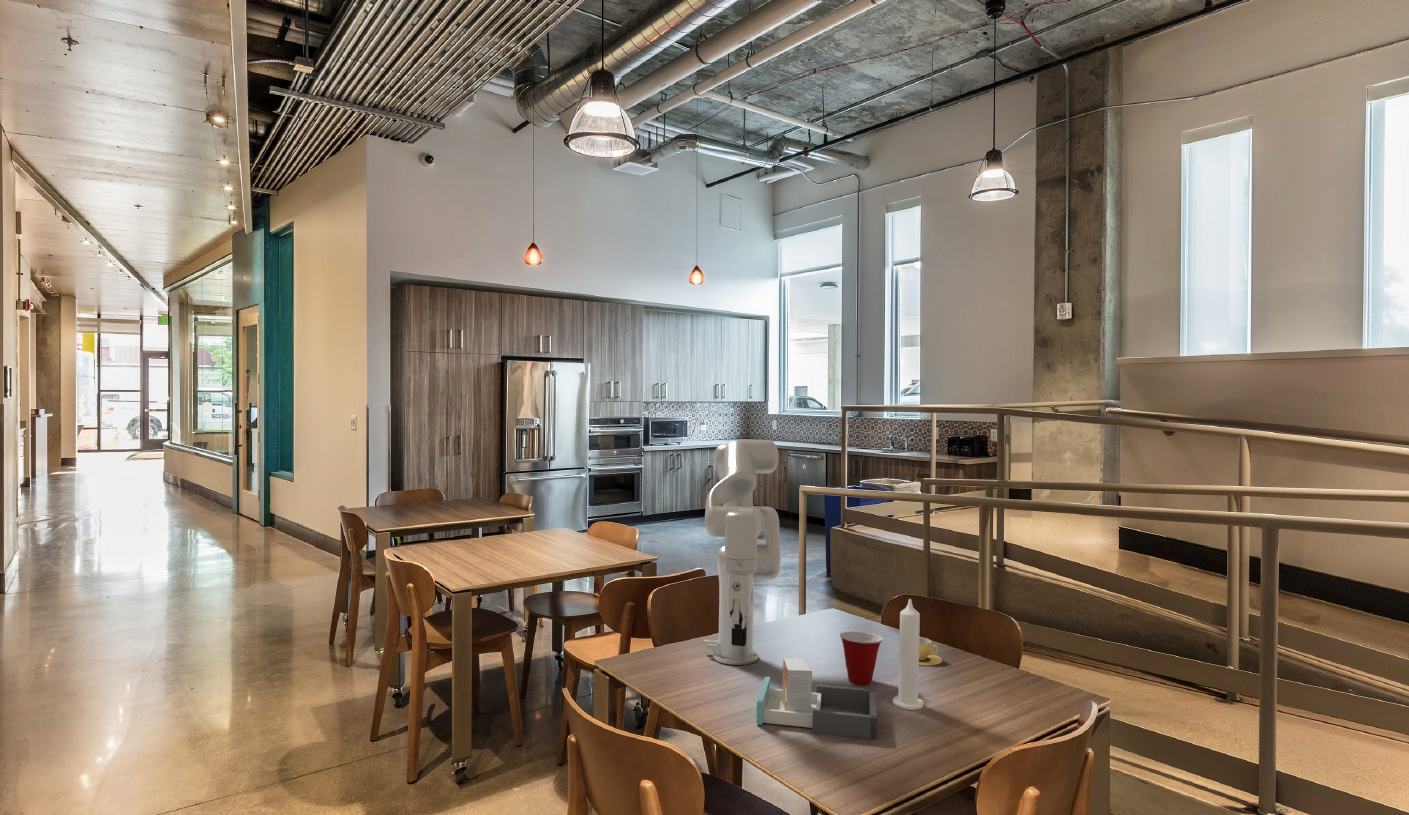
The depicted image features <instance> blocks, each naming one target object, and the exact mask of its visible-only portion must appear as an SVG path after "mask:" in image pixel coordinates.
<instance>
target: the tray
mask: <svg viewBox="0 0 1409 815" xmlns="http://www.w3.org/2000/svg"><path fill="white" fill-rule="evenodd" d="M782 692H783V688H772V687H771V676H764V679H763V682H762V686H761V687H760V691H759V694H758V697H757V700H756V725H761V726H763V723H764V724H765V723H766V724H772V725H773V724H774V725H780V726H781V725H783V726H793V727H800V728H801V727H803V728H810V729H812V728H813V709H815V710H822V708H821V707H822V706H821V693H816V692H812V695H811V713H803V712H794V711H785V709H784V705H783V703H782Z"/></svg>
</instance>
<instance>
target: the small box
mask: <svg viewBox="0 0 1409 815" xmlns="http://www.w3.org/2000/svg"><path fill="white" fill-rule="evenodd" d="M782 661H783V662H782V664H783V665H782V689H783V692H782V703H783V705H784V709H785V711H794V712H803V713H811V695H812V688H813V670H812V668H811V667H810V664H809V662H808V659H807V658H792V657H791V658H787V657H783V660H782Z"/></svg>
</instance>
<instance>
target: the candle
mask: <svg viewBox="0 0 1409 815" xmlns="http://www.w3.org/2000/svg"><path fill="white" fill-rule="evenodd" d="M920 614H921V613H920V612H918V610H916V609H915V608H914V605H913V601H912V599H911V598H909V599H908V602H907V605H906V607H905V608H903V609H902V610H900V612H899V648H898V649H899V650H898V652H899V653H898V654H899V658H898V695H895V696H893V698H892V704H893V705H894V706H896V707H897V708H899V709H903V710H908V711H909V710H910V711H918V710H921V709H922V708H924V704H925V703H924V701H923V700H922V699H921V698H919V674H920V673H919V672H920V670H919V667H920V665H919V662H920V660H919V637H920V627H921V626H920V622H921V621H920V619H921V615H920Z"/></svg>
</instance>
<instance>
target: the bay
mask: <svg viewBox="0 0 1409 815" xmlns="http://www.w3.org/2000/svg"><path fill="white" fill-rule="evenodd" d="M815 686H816V687H815V693H821V707H829V708H830V707H831V708H840V709H848V710H849V709H850V710H858V711H859V710H860V711H861V710H862V711H868V714H863V713H853V712H844V711H843V712H842V711H832V710H831V711H830V710H822V709H821V710H815V709H813V728H811V729H812V730H811V731H812V734H813V733H814V734H821V735H822V734H823V735H832V736H841V737H849V738H850V737H852V738H859V739H860V738H861V739H870V740H877V728H878V727H877V725H878V724H877V722H878V720H877V719H878V718H877V717H878V716H877V704H876V690H875V689H873V688H871V689H870V688H869V689H868V688H860V687H851V686H838V685H829V684H816V685H815Z"/></svg>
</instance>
